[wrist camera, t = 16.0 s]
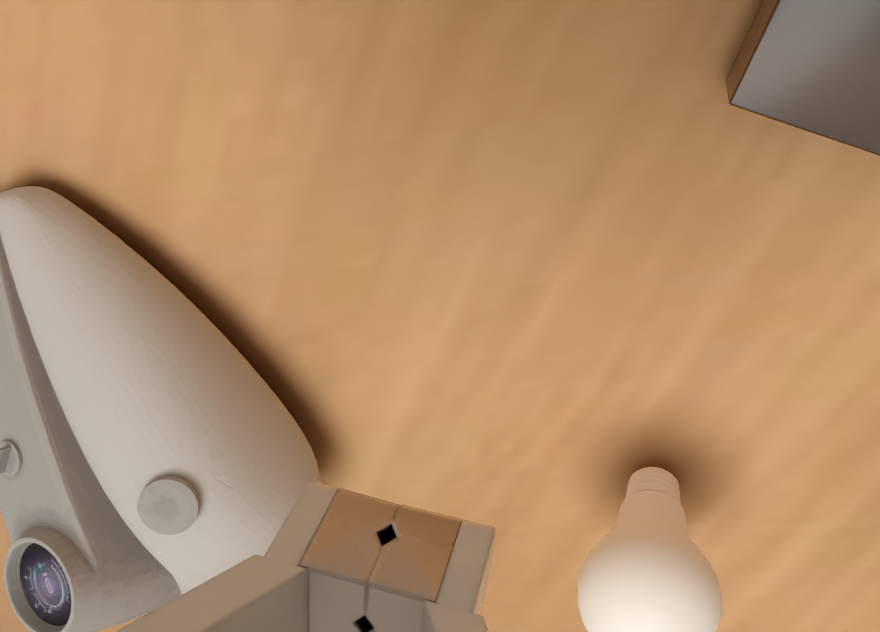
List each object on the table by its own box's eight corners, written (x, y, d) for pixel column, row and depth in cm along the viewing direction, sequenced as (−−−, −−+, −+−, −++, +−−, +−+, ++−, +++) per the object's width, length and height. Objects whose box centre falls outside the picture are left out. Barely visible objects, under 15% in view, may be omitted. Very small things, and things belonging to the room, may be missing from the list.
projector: (362, 254, 40) (223, 445, 28) (331, 564, 53) (225, 789, 41) (-39, 153, 43) (-321, 287, 31) (21, 469, 56) (-163, 653, 44)
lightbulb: (734, 449, 41) (747, 633, 32) (694, 533, 44) (695, 721, 35) (611, 414, 41) (590, 584, 32) (581, 499, 45) (554, 675, 36)
